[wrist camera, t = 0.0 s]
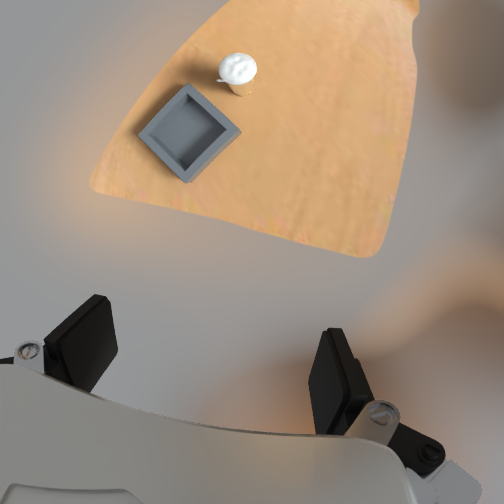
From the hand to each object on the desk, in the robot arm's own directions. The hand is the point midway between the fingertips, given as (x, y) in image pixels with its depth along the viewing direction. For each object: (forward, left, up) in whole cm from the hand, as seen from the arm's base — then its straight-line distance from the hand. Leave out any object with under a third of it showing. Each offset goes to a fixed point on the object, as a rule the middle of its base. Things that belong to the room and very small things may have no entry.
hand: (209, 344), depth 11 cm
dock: (-2, -15, -31) cm, 35 cm away
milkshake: (-12, -15, -31) cm, 37 cm away
